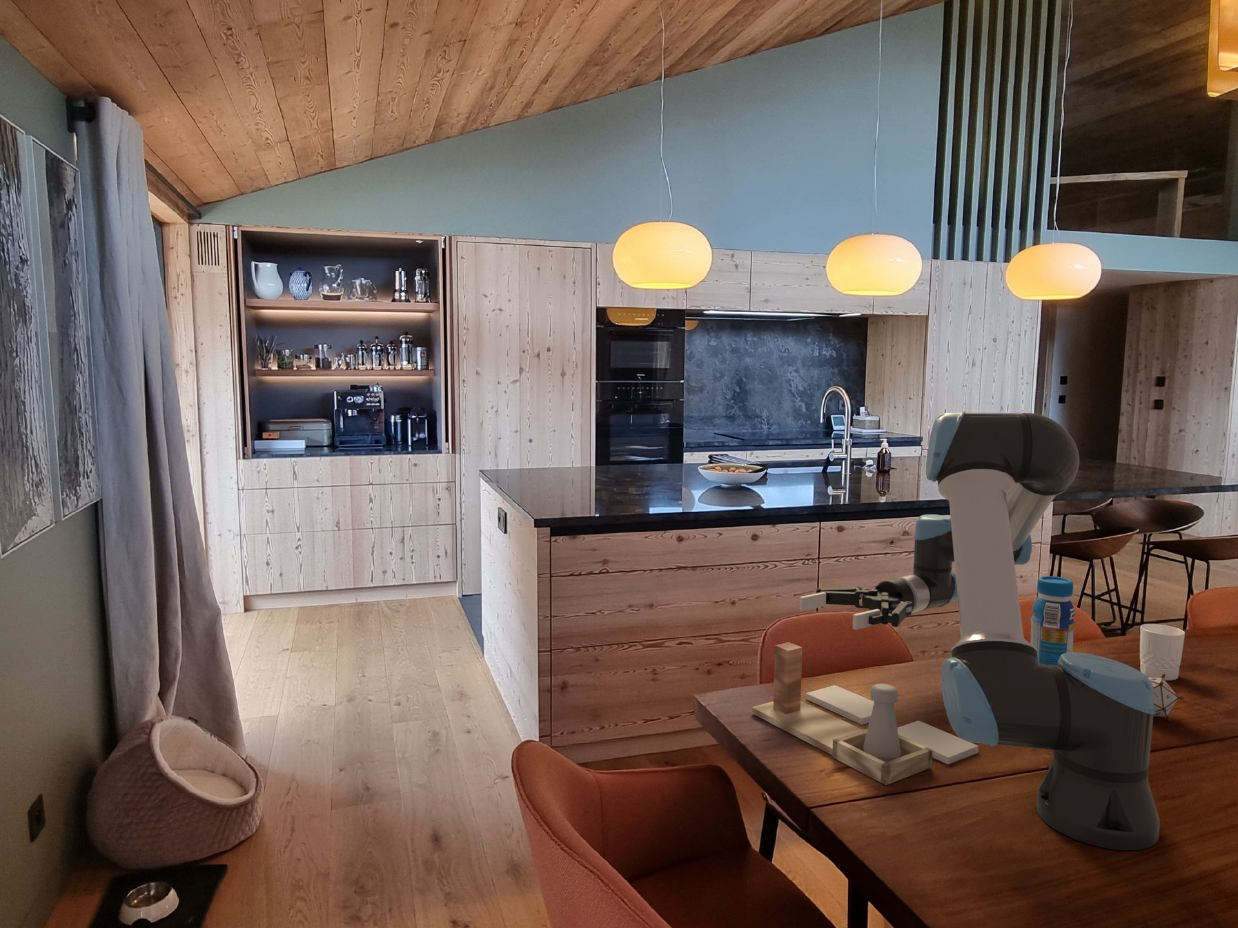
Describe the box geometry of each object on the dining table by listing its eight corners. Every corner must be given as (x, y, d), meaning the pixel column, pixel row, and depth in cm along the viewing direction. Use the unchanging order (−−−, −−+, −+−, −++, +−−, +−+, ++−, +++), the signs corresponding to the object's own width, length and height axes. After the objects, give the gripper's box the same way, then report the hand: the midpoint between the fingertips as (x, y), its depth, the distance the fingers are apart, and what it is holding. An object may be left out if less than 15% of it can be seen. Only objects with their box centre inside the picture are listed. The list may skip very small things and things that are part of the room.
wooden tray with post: (931, 767, 132) (935, 688, 131) (885, 785, 127) (889, 702, 125) (792, 701, 159) (794, 635, 158) (749, 713, 153) (751, 645, 152)
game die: (1159, 740, 152) (1180, 712, 145) (1110, 713, 156) (1129, 685, 149) (1174, 706, 156) (1196, 678, 149) (1127, 681, 161) (1145, 652, 154)
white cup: (1128, 671, 177) (1132, 626, 176) (1151, 666, 180) (1155, 621, 179) (1166, 683, 170) (1169, 637, 169) (1189, 678, 173) (1193, 632, 172)
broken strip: (978, 752, 138) (978, 745, 138) (948, 764, 134) (948, 757, 134) (834, 690, 165) (834, 684, 165) (805, 698, 161) (806, 693, 161)
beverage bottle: (1019, 665, 180) (1024, 576, 178) (1049, 661, 183) (1055, 573, 181) (1049, 678, 172) (1055, 585, 170) (1081, 674, 175) (1087, 582, 173)
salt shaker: (859, 766, 133) (862, 688, 132) (866, 752, 138) (868, 677, 137) (897, 774, 130) (900, 694, 129) (902, 759, 135) (905, 683, 134)
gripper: (953, 630, 157) (878, 650, 146) (852, 599, 178) (780, 615, 167) (955, 592, 156) (880, 609, 145) (853, 565, 177) (781, 579, 166)
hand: (826, 612), depth 156 cm, fingers open, 13 cm apart
